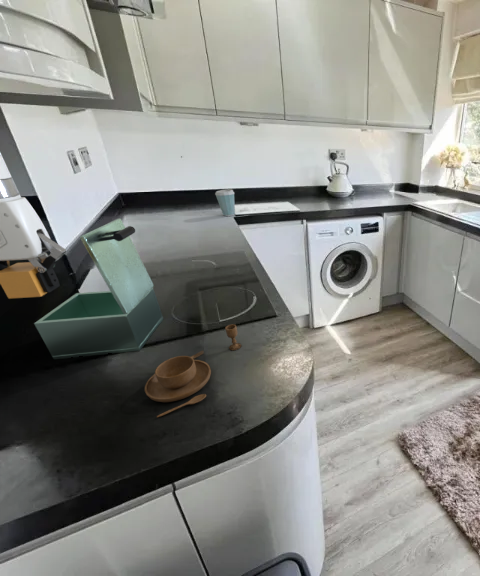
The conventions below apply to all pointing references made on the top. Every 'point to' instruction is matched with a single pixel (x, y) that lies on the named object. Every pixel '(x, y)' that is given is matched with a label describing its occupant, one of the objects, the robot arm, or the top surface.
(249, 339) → the top surface
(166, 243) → the top surface
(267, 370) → the top surface
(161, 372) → the place setting
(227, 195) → the disposable coffee cup
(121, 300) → the freezer lid
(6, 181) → the robot arm
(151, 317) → the box
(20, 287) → the block
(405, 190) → the top surface
